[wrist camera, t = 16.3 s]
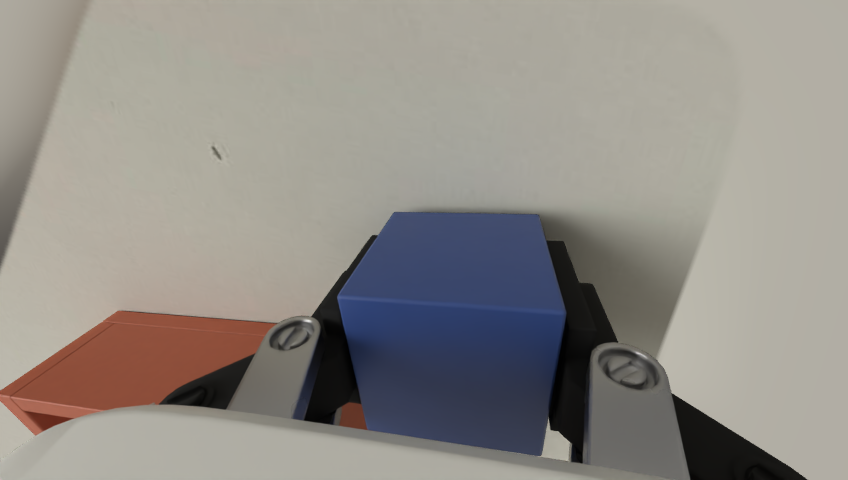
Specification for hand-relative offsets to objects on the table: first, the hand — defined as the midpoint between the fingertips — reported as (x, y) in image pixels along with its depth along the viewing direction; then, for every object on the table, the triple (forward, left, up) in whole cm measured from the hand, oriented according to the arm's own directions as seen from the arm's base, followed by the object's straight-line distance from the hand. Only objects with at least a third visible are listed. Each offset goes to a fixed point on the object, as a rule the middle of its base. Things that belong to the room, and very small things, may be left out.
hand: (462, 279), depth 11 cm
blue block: (0, 0, 0) cm, 0 cm away
